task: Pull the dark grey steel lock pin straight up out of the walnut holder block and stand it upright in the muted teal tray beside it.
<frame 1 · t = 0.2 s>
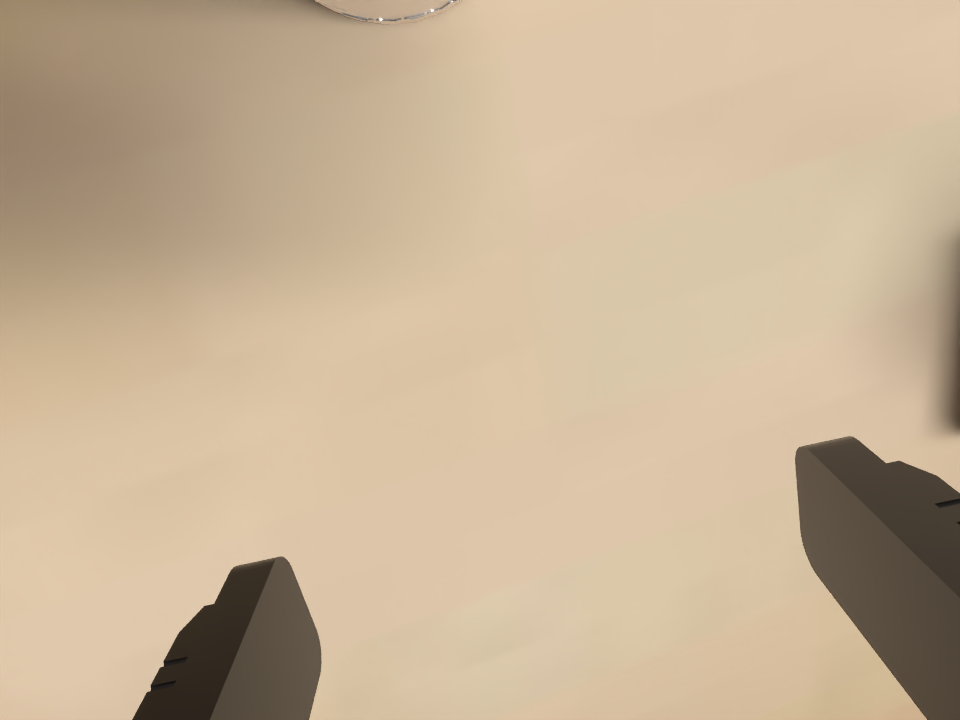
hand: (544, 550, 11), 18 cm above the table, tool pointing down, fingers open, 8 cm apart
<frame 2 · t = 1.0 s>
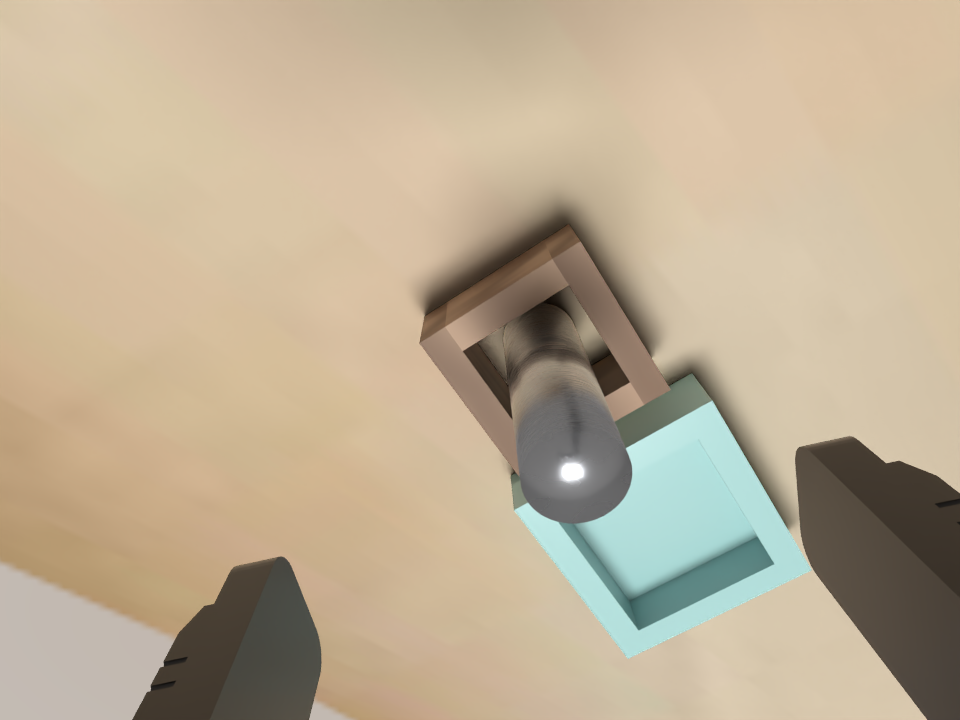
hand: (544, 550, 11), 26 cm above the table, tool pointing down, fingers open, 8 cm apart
tray: (651, 504, 41), on the table
holder: (539, 338, 37), on the table
lock pin: (554, 392, 31), in the holder
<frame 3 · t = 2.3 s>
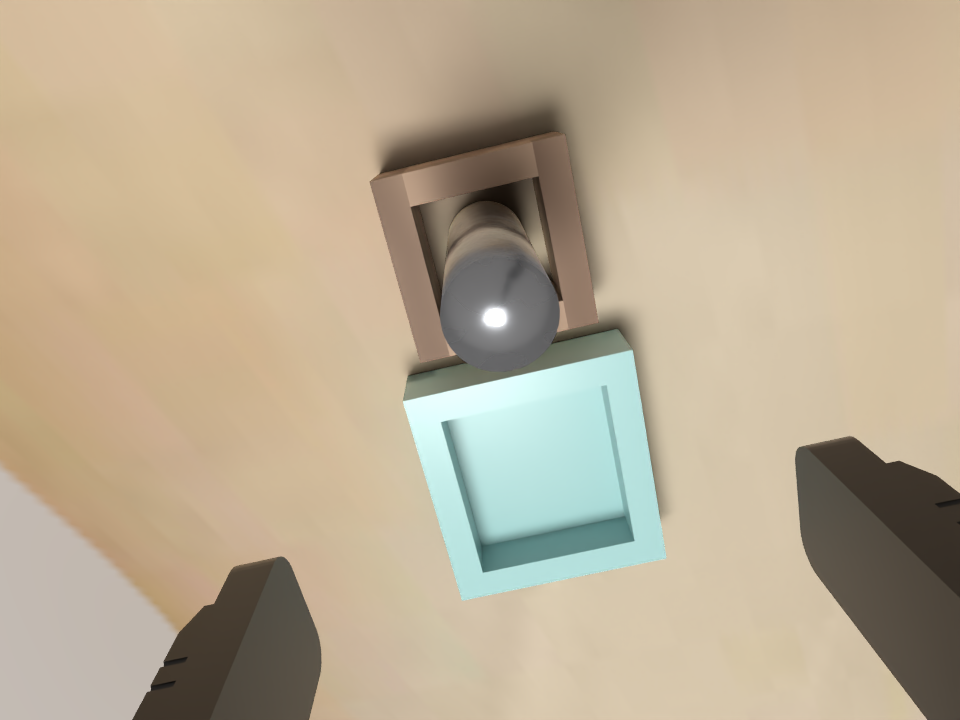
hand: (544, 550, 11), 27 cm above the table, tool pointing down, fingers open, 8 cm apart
tray: (534, 453, 40), on the table
holder: (485, 239, 36), on the table
lock pin: (491, 269, 29), in the holder
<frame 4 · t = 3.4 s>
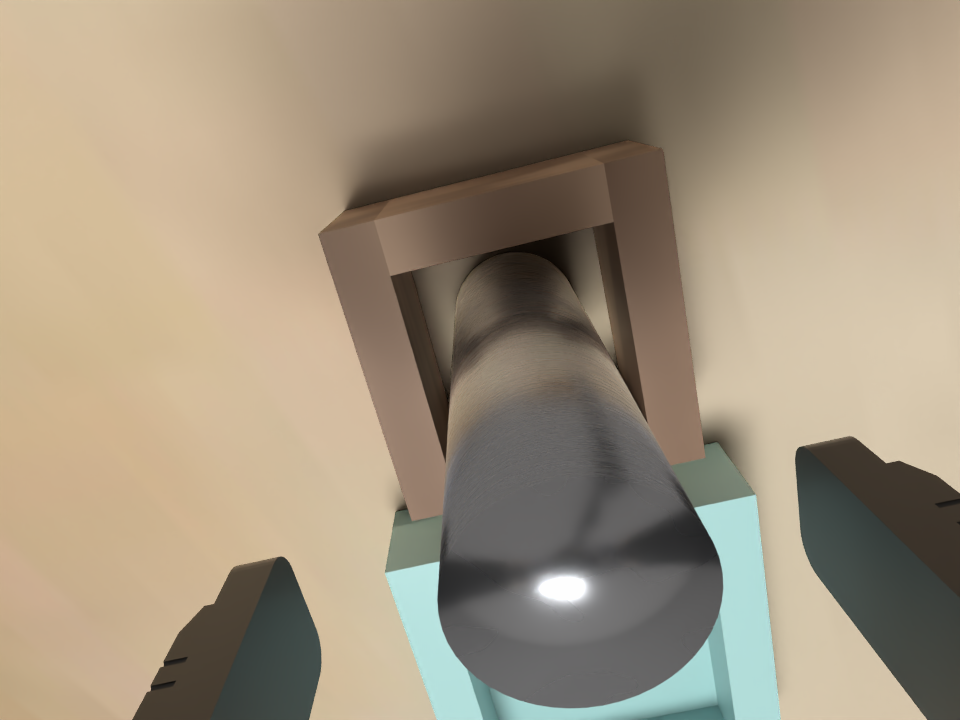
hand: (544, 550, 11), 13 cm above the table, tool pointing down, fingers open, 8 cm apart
tray: (585, 615, 27), on the table
holder: (515, 311, 23), on the table
lock pin: (534, 397, 16), in the holder
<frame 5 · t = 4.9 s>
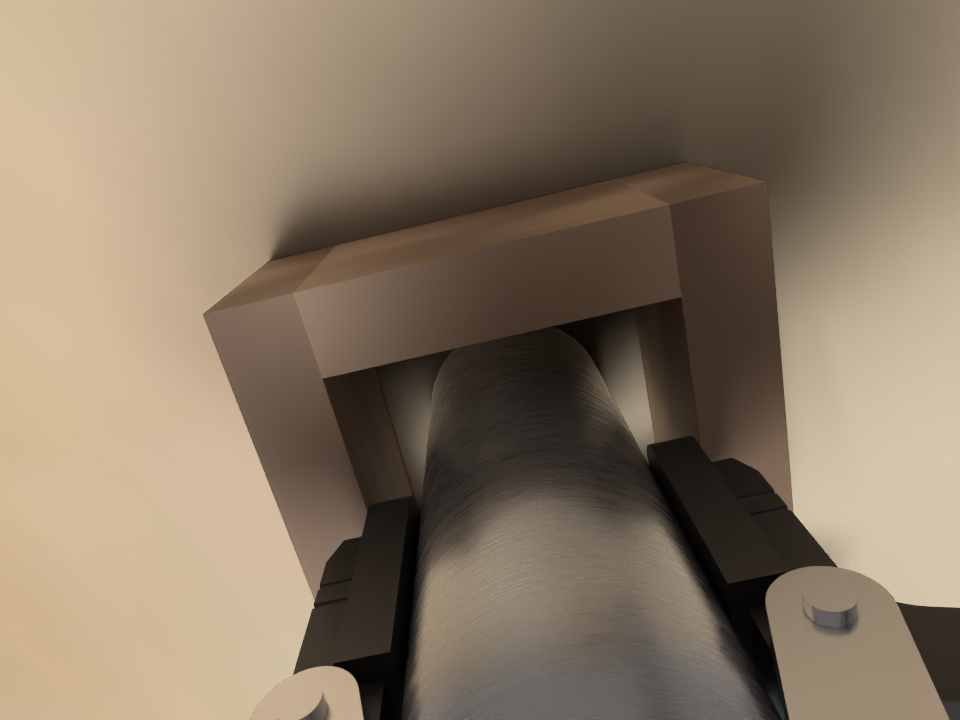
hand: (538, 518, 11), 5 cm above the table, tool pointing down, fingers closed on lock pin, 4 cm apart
holder: (517, 402, 16), on the table
lock pin: (558, 609, 9), in the holder, touching gripper
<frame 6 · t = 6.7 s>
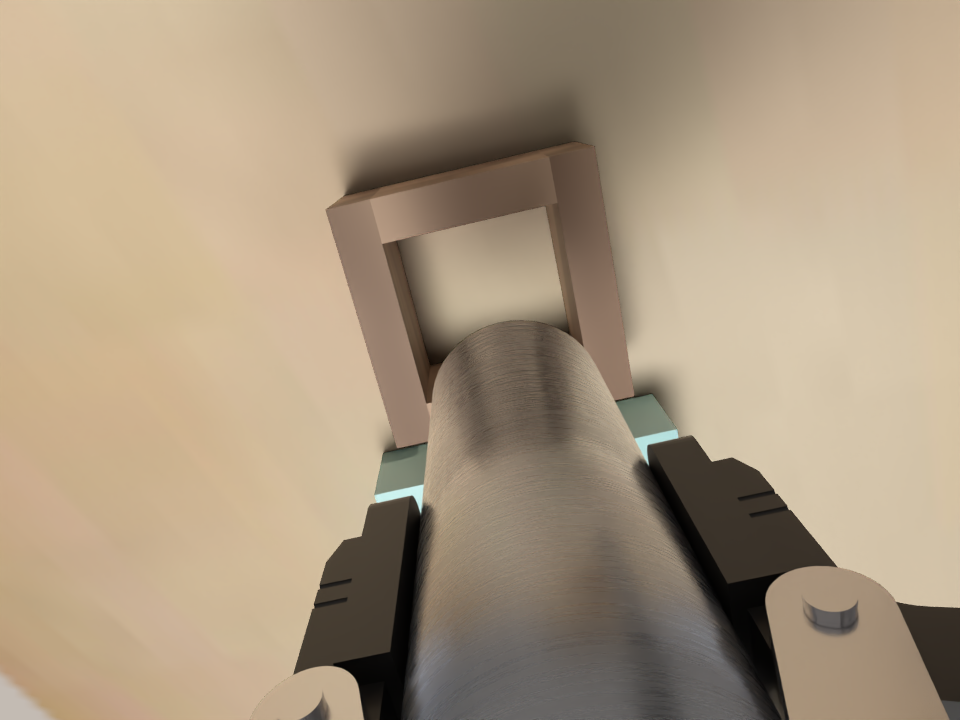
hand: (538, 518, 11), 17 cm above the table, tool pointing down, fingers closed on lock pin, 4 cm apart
tray: (544, 546, 32), on the table
holder: (483, 281, 27), on the table
lock pin: (557, 608, 9), point 19 cm above the table, touching gripper
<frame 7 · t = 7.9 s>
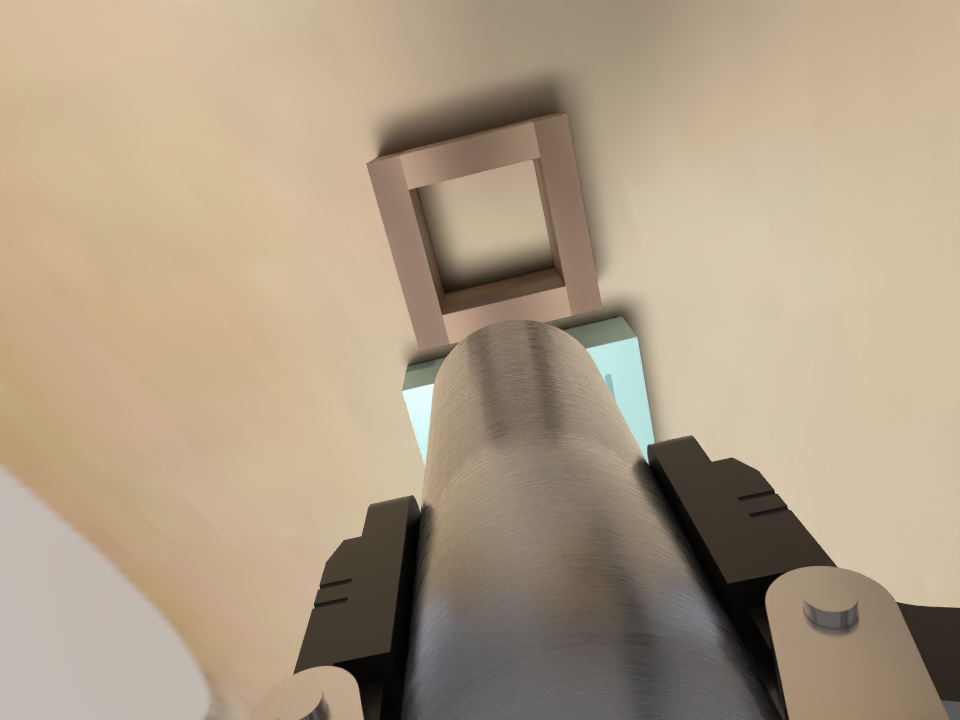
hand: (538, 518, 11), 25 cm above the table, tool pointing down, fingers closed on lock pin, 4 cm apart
tray: (537, 444, 39), on the table
holder: (486, 225, 35), on the table
lock pin: (558, 608, 9), point 28 cm above the table, touching gripper
when the fingers open (7 cm above the table, at t = 11.7 s): lock pin stays where it is, resting on tray.
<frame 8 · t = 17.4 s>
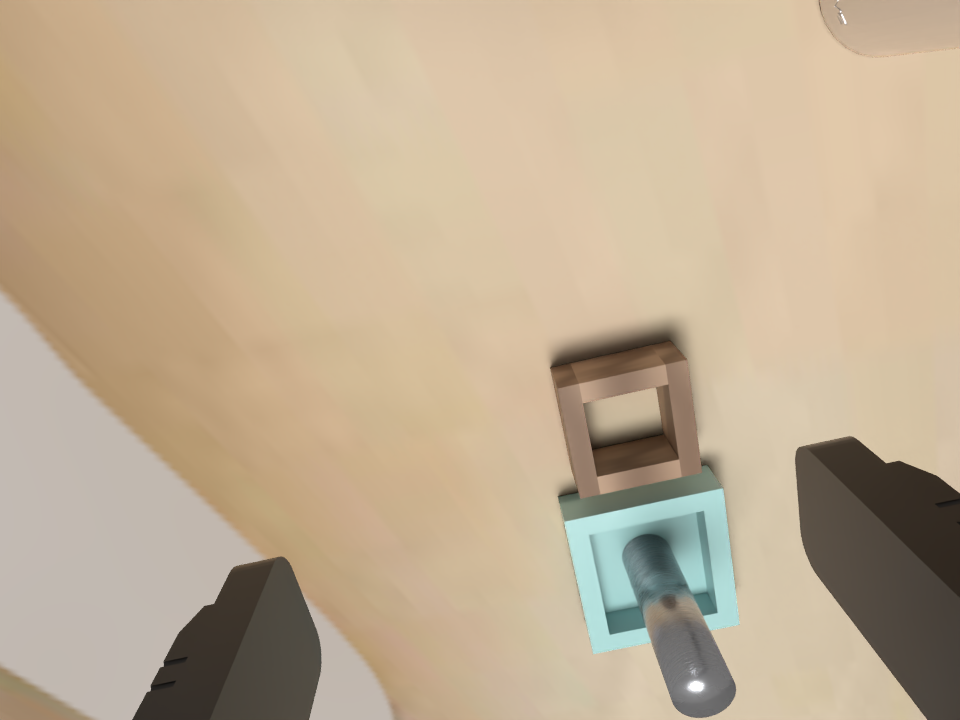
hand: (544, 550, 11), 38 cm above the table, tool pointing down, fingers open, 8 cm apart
tray: (643, 547, 56), on the table
holder: (619, 408, 52), on the table
lock pin: (671, 614, 49), in the tray, point 8 cm above the table
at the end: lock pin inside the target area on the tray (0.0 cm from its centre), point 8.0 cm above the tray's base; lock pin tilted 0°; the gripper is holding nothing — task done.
